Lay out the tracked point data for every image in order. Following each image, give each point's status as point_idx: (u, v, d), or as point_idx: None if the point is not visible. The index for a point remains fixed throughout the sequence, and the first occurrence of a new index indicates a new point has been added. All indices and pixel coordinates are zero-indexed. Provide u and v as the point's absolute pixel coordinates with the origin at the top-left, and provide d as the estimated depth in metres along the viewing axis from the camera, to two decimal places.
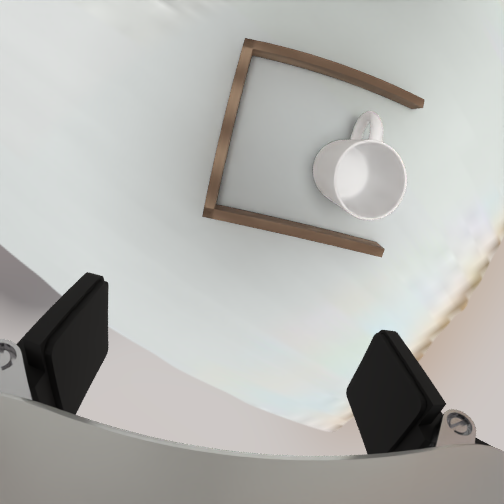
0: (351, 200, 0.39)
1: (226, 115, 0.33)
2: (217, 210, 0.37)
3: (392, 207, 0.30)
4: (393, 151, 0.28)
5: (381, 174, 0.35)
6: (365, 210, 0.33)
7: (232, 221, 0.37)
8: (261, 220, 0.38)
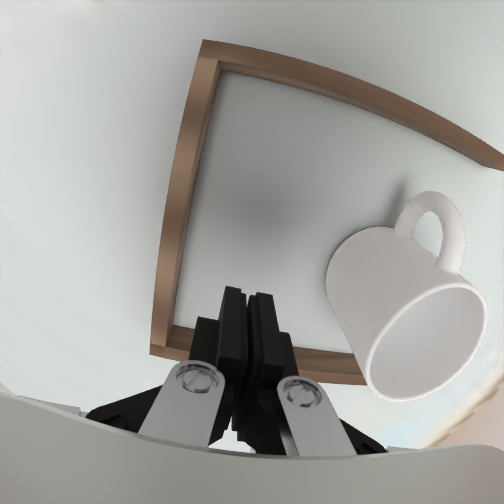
0: None
1: (170, 199, 0.18)
2: (170, 348, 0.22)
3: (450, 375, 0.16)
4: (478, 296, 0.13)
5: (436, 292, 0.20)
6: (405, 364, 0.19)
7: None
8: None
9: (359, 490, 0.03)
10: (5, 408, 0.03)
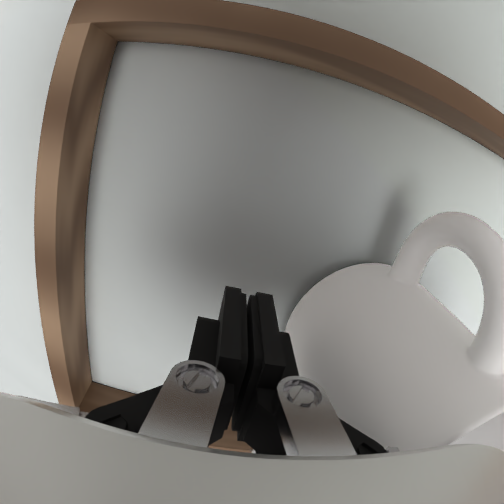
0: None
1: (38, 232, 0.11)
2: None
3: None
4: None
5: None
6: None
7: None
8: None
9: (359, 490, 0.03)
10: (5, 408, 0.03)
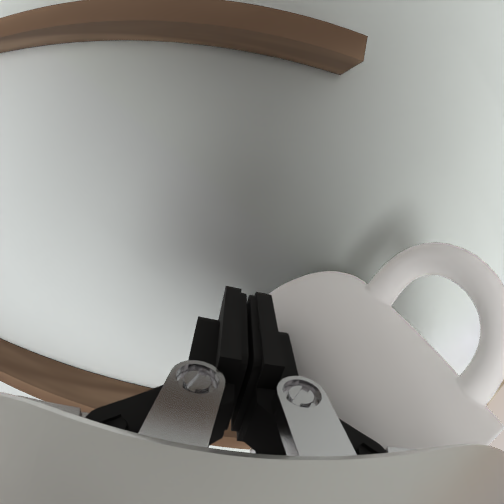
0: None
1: None
2: None
3: None
4: None
5: None
6: None
7: None
8: (5, 374, 0.15)
9: (359, 490, 0.03)
10: (5, 408, 0.03)
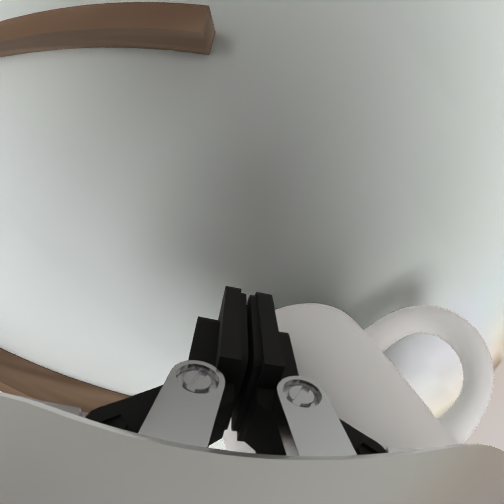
0: None
1: None
2: None
3: None
4: None
5: None
6: None
7: None
8: None
9: (359, 490, 0.03)
10: (5, 408, 0.03)
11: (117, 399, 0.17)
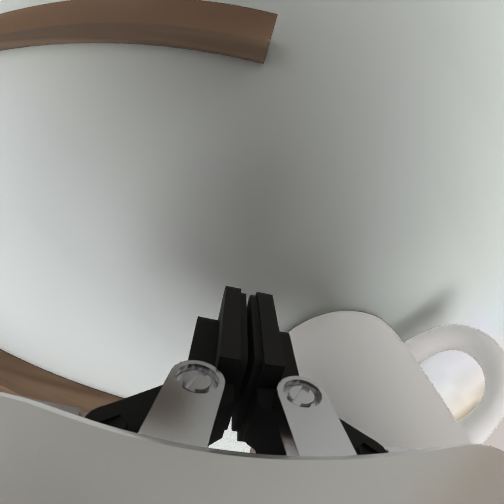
0: None
1: None
2: None
3: None
4: None
5: None
6: None
7: None
8: None
9: (359, 490, 0.03)
10: (5, 408, 0.03)
11: None
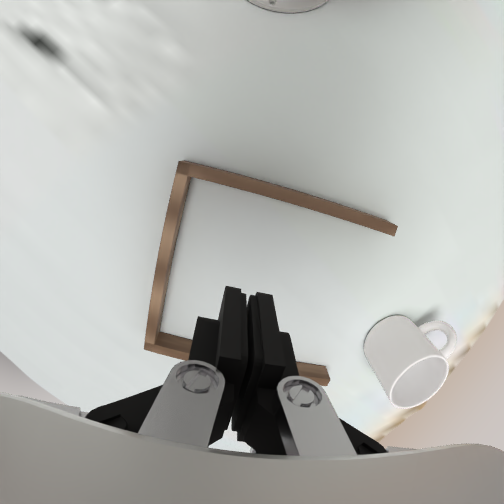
0: None
1: (159, 257, 0.32)
2: (157, 345, 0.35)
3: (410, 405, 0.31)
4: (446, 374, 0.30)
5: (413, 368, 0.37)
6: None
7: (172, 356, 0.36)
8: None
9: (359, 490, 0.03)
10: (5, 408, 0.03)
11: (310, 366, 0.40)
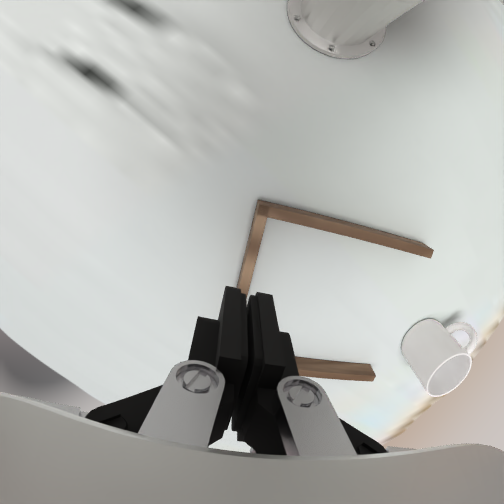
0: None
1: (240, 286, 0.37)
2: None
3: (441, 393, 0.37)
4: (469, 367, 0.35)
5: None
6: None
7: None
8: None
9: (359, 490, 0.03)
10: (5, 408, 0.03)
11: (358, 365, 0.45)
